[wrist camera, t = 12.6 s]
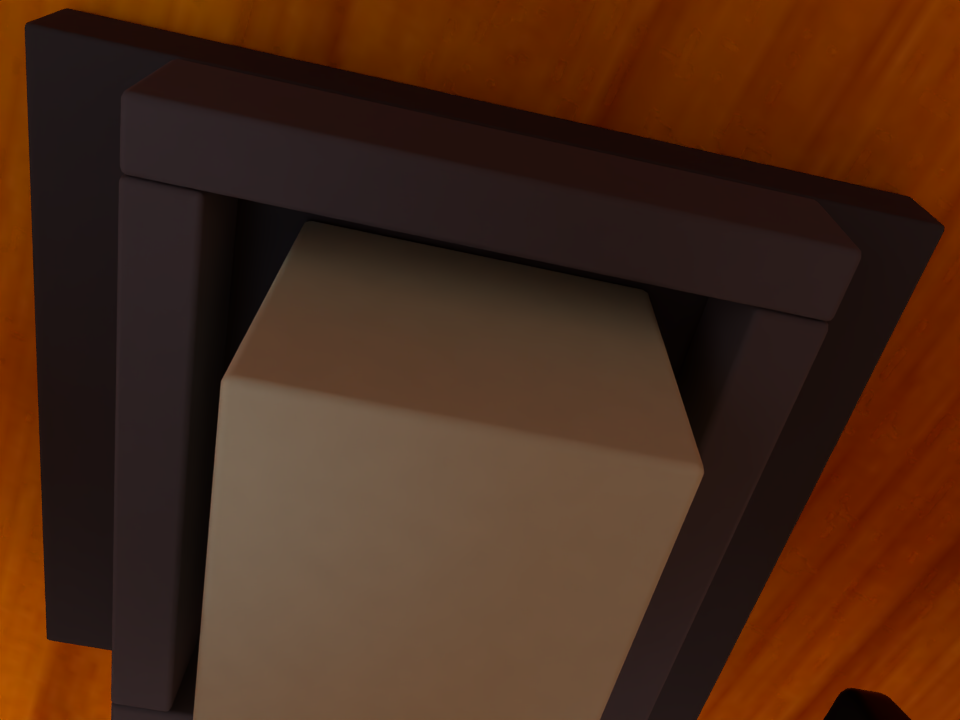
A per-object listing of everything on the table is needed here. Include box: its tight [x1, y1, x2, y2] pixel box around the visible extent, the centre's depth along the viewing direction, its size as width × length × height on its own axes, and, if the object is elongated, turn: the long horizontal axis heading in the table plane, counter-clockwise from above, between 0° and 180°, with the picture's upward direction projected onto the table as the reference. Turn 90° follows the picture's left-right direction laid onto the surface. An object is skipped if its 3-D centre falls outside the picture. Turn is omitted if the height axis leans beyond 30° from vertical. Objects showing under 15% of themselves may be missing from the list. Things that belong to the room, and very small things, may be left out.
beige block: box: [193, 221, 704, 720], centre depth 10 cm, size 6×4×4 cm, turn 168°
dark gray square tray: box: [25, 9, 944, 720], centre depth 11 cm, size 9×10×2 cm
